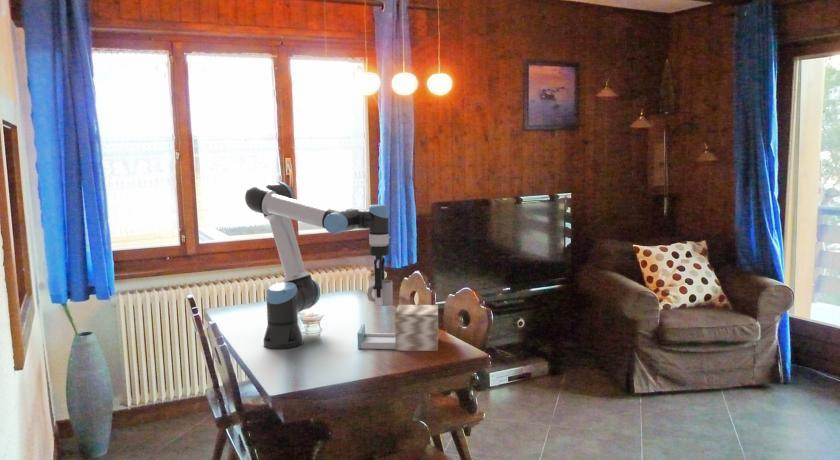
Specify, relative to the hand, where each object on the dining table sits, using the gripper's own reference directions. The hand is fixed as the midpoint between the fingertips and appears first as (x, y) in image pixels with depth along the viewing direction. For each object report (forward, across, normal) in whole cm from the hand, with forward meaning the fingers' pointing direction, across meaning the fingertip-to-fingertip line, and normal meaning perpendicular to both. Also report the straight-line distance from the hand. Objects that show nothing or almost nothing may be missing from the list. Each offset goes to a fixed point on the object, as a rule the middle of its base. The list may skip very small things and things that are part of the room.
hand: (380, 302), depth 253 cm
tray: (+16, 0, -1) cm, 16 cm away
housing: (+17, 0, -14) cm, 22 cm away
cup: (+1, 0, 0) cm, 1 cm away
